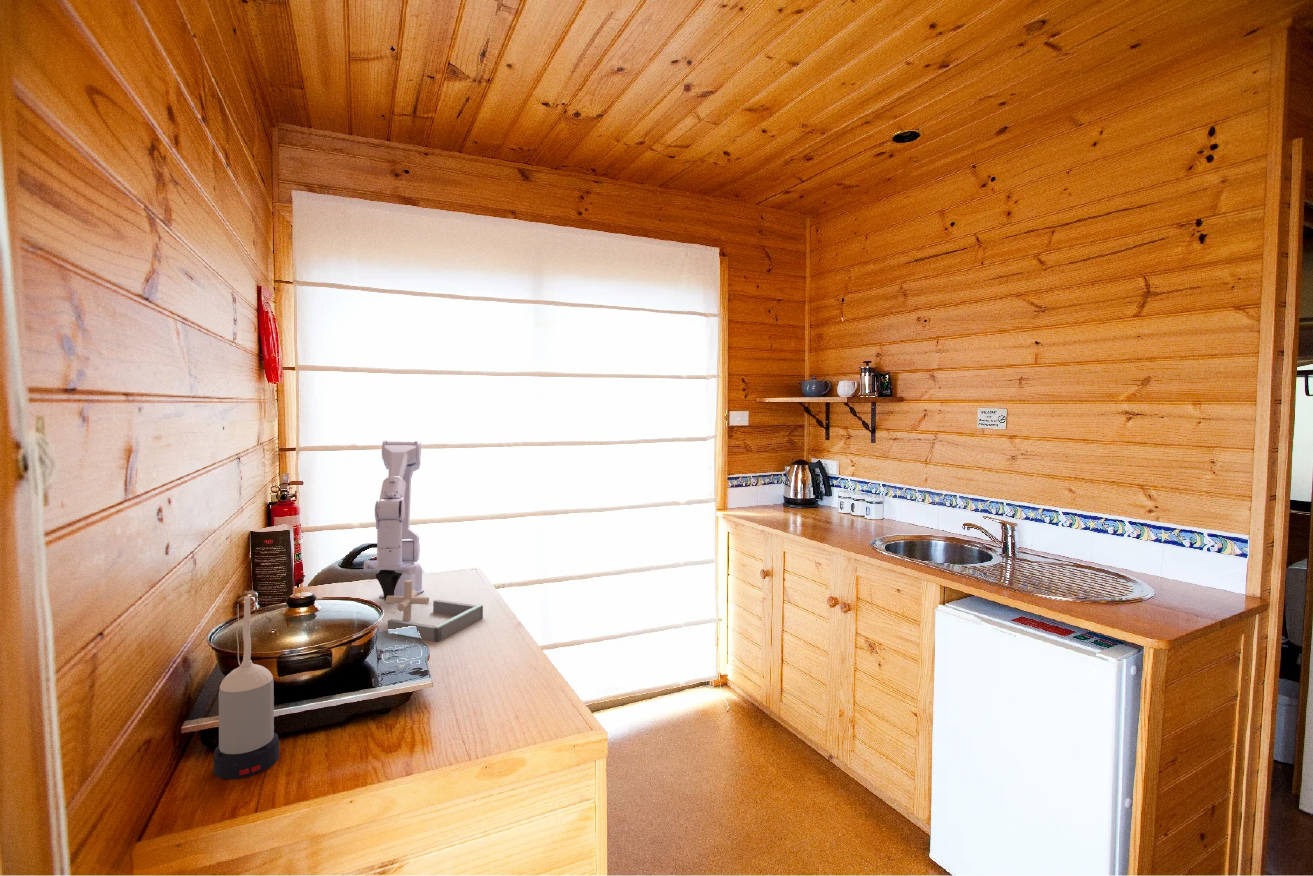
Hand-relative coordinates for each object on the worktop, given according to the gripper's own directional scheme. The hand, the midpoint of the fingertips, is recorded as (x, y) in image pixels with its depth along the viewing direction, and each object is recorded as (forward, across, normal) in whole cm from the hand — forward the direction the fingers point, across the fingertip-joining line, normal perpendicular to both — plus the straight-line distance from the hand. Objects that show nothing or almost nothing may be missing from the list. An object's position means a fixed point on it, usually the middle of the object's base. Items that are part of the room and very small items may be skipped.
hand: (389, 599), depth 153 cm
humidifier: (+6, +27, -58) cm, 64 cm away
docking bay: (+5, +14, 0) cm, 14 cm away
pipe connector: (+5, +5, +1) cm, 7 cm away
